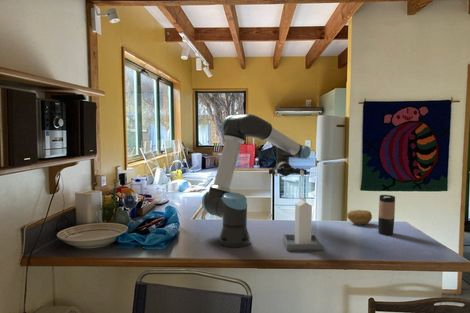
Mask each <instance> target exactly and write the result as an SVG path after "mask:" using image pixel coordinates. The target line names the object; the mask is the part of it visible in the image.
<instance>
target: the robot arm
mask: <svg viewBox="0 0 470 313" xmlns="http://www.w3.org/2000/svg"><path fill="white" fill-rule="evenodd" d="M221 130H222V133H223V138H224V144H223V149H222V151H221V156H220V158H219V162H218V167H217V172H216V174H215V178H214V183H213V184H212V185H210V186H209V189H208V191H206V192H205V193H204V194H203V196H202V198H201V206H202V209H203V210H204V211H205V212H206V213H208V214H209V215H212V216H216V217H218V218H221V219H222V226H221V227H222V228H221V231H220V232H219V237H218V244H219V245H220V246H223V247H225V248H226V247H227V248H242V247H246V246H249V245H250V244H251V236H250V233H249V230H248V226H247V225H248V223H247V221H248V216H247V215H248V203H247V202H248V201H247V197H246V196H245V195H244V194H242V193H239V192H234V191H232V190H231V186H232V180H233V176H234V175H235V170H236V165H237V162H238V159H239V158H238V157H239V153H240V150H241V147H242V145H243V144H244V143H246V138H255V139H256V138H257V139H258V140H261V141H266V142H268V143H270V144H272V145H274V146H276V159H275V160H276V164H275V167H273V168H272V167H271V168H270V169H269V168H268V174H269V175H272V176H273V177H274V176H275V177H278V174H280V175H281V176H283V177H287V176H290V175H294V174H296V175H300V177H304V176H305V175H307V171H308V170H307V169H304V168H299V167H292V165H290V158H292V159H301V160H303V159H304V160H306V159H309V157H310V155H311V148H310V146H309V145H302V144H301V143H298V142H297V141H295V140H293V139H292V138H290V137H289V136H287V135H285V134H284V133H283V132H281V131H279V130H278V129H276V128H274V127H273V126H272V123H270V122H268V121H267V120H265V119H263V118H262V117H260V116H258V115H256V114H251V113H245V114H232V115H228V116H227V117H225V118H224V120H223V121H222V124H221Z"/></svg>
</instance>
